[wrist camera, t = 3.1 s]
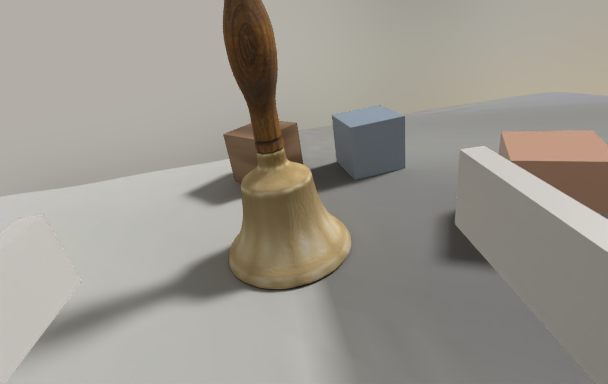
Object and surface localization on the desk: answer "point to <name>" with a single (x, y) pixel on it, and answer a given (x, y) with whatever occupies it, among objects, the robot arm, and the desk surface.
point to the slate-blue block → (369, 141)
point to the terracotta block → (563, 162)
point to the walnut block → (245, 153)
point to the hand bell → (275, 173)
